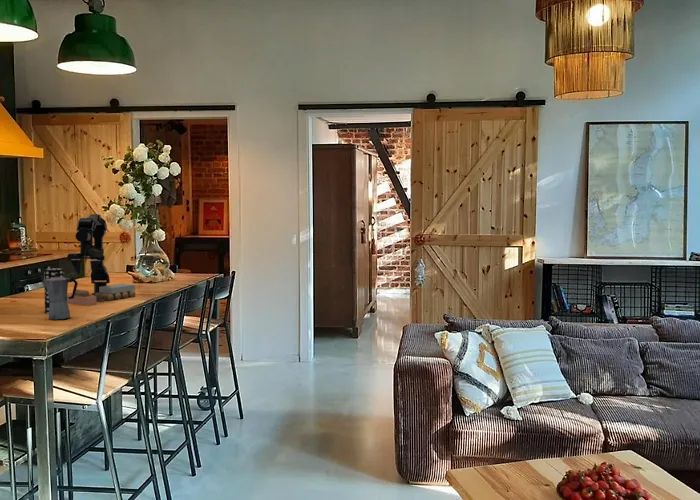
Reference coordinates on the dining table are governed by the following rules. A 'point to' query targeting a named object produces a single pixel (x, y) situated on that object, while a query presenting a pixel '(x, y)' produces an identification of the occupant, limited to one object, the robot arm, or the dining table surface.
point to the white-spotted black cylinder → (47, 275)
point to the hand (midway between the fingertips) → (86, 274)
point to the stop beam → (82, 300)
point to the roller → (82, 293)
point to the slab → (116, 288)
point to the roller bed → (113, 296)
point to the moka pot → (59, 296)
